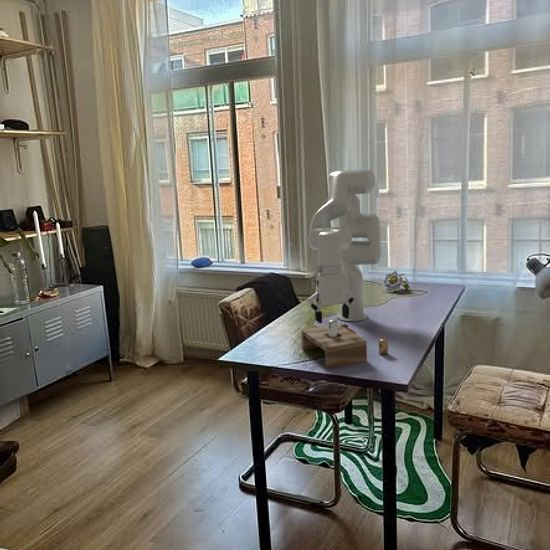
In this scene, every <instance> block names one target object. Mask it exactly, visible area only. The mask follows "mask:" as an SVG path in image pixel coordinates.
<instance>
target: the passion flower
mask: <svg viewBox="0 0 550 550" xmlns="http://www.w3.org/2000/svg"><path fill="white" fill-rule="evenodd" d="M385 276H386V277H385V278H384V281H383V282H382V283H381V284H380V286H381V287H384V286H385V287H387V288H386V291H387V292H389V291H390V293H391V294H393V293H394V292H395V290H396V291H397V292H398V291H400V289H401V286H402V287H403V288H404V289H405V291H406V292H408V293H409V291H410V290H411V287H410V285H409V283H408V282H409V280H408V279H407V277H404V276H405V273H401V274H398V271H397V270H394V271H392V272H390V273H387V274H385Z"/></svg>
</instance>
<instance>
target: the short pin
mask: <svg viewBox="0 0 550 550" xmlns="http://www.w3.org/2000/svg"><path fill="white" fill-rule="evenodd" d="M378 355H379V356H387V355H389V339H388V338H385V337H381V338H379V339H378Z"/></svg>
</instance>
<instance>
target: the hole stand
mask: <svg viewBox="0 0 550 550" xmlns="http://www.w3.org/2000/svg"><path fill="white" fill-rule="evenodd" d="M301 346H302V347H301V349H302V351H304V350H305V351H309V350H308V349H310V350H314V349H313V348H316V349H322V350H323V351H324V357H325V359H324V360H325V369H327V370H329V369H334V368H340V367H344V366H350V365H355V364H359V363H364V362H368V355H367V354H368V349H367V348H368V345H367V340H366V339H365V338H363V337H361V336H360V335H358V334H357V333H356V334H355V333H353V332H351V331H349V330H348V329H346V328H344V327H342V326H341V324H340V323H339V324H337V337H335V338H328V325H324V326H319V327H313V328H307V329H302V330H301ZM319 347H320V348H319Z"/></svg>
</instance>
